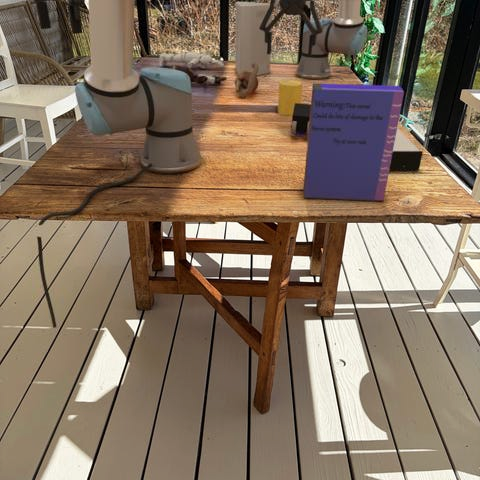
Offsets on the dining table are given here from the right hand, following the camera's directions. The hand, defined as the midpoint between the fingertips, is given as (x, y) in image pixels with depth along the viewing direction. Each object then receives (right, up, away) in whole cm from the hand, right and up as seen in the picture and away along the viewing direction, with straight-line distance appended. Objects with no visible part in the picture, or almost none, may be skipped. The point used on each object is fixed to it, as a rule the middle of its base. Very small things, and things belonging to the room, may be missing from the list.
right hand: (289, 55), depth 157 cm
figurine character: (+2, -29, -12) cm, 31 cm away
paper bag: (-10, +16, +61) cm, 64 cm away
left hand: (-64, -5, -29) cm, 71 cm away
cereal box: (+7, -51, -49) cm, 71 cm away
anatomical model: (-14, -5, +27) cm, 31 cm away
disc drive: (+20, -38, -27) cm, 51 cm away
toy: (-39, +20, +67) cm, 79 cm away
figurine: (-37, +3, +39) cm, 53 cm away
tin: (+1, -17, +7) cm, 18 cm away
